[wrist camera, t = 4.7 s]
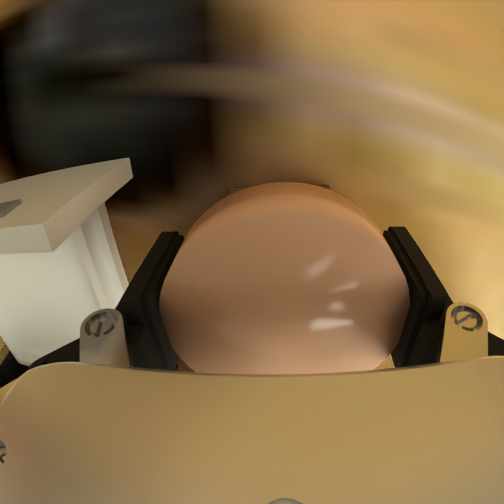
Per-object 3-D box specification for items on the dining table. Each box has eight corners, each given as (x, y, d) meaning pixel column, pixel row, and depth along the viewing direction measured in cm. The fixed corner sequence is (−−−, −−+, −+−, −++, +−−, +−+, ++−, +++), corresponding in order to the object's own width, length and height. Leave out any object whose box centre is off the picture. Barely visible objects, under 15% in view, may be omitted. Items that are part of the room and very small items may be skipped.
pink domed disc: (157, 188, 9) (130, 219, 7) (406, 182, 8) (435, 213, 6) (197, 355, 12) (187, 395, 11) (371, 352, 12) (380, 393, 10)
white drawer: (-58, 199, 12) (-114, 243, 8) (128, 154, 11) (40, 218, 6) (18, 354, 19) (-13, 404, 15) (190, 382, 18) (171, 462, 13)
